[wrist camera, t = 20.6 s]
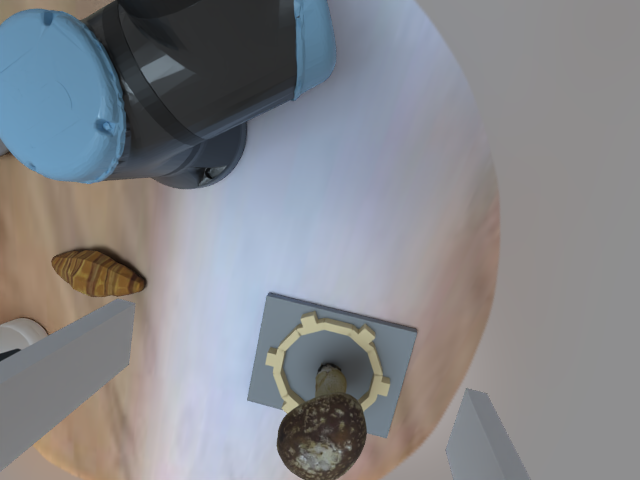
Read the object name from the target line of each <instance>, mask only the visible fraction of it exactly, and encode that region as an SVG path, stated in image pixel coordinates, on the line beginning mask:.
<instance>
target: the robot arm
mask: <svg viewBox="0 0 640 480" xmlns="http://www.w3.org/2000/svg"><path fill="white" fill-rule="evenodd" d="M335 63H336V44H335V37H334V31H333V26H332V21H331V16H330V12H329V7H328V3H327V0H115V1H113V2H112V3H110V4H108V5H107V6H105V7H103V8H102V9H100V10H98V11H96V12H95V13H93V14H91V15H90V16H88V17H86V18H85V19H82V20H78V19H76V18H75V17H73V16H72V15H70V14H68V13H65V12H63V11H54V10H45V9H29V10H24V11H20V12H18V13H16V14H14V15H12V16H11V17H9V18H8V19H6V20H5V21H4V22H3V23H2V24H1V25H0V139H1V140H2V142H3V143H4V144H5V146H6V147H7V148H8V150H9V151H10V152H11V153H12V154H13V155H14V156H15V157H16V158H17V159H18V160H19V161H20V162H21V163H22V164H24V165H25V166H26V167H28V168H29V169H31V170H33V171H36V172H37V173H39V174H42V175H43V176H45V177H47V178H50V179H54V180H58V181H71V182H80V183H87V184H91V183H94V182H100V181H107V180H121V179H135V178H148V177H150V178H152V179H154V180H156V181H158V182H160V183H162V184H164V185H167V186H170V187H173V188H179V189H195V188H202V187H206V186H210V185H212V184H215V183H217V182H218V181H220V180H222V179H223V178H224V177H226V176H227V175H228V174H229V173H230V172H231V171H232V170H233V169H234V167H235V166H236V164H237V163H238V161H239V159H240V157H241V155H242V153H243V150H244V146H245V142H246V133H247V126H246V121H248V120H250V119H252V118H254V117H256V116H258V115H260V114H262V113H264V112H266V111H269V110H271V109H273V108H275V107H277V106H279V105H281V104H283V103H285V102H287V101H289V100H291V101H294V100H296V99H297V98H298V97H299V96H300V94H302V93H304V92H306V91H308V90H309V89H311V88H313V87H315V86H317V85H318V84H320V83H322V82H324V81H325V80H326V79H328V78H329V76H330V75H331V73H332V71H333V69H334V67H335ZM134 313H135V303H133V302H129V301H125V300H121V299H116V300H114V301H112V302H110V303H108V304H107V305H105V306H103V307H101V308H99V309H97V310H95V311H94V312H92V313H90V314H88V315H86V316H84V317H82V318H80V319H79V320H77V321H75V322H73V323H71V324H69V325H67V326H66V327H64V328H62V329H60V330H58V331H56V332H54V333H53V334H51V335H49V336H47V337H45V338H43V339H41V340H39V341H38V342H36V343H34V344H32V345H30V346H28V347H26V348H25V349H23V350H21V349H18V348H17V349H14V350H10V351H7V352H4V353H0V472H1V471H2V470H3V469H4V468H6V467H7V466H8V465H9V464H10V463H12V461H14V460H15V459H16V458H18V457H19V456H20V455H21V454H22V453H23V452H25V451H26V450H27V449H28V448H29V447H31V446H32V445H33V444H34V443H35V442H37V441H38V440H39V439H40V438H41V437H43V436H44V435H45V434H46V433H47V432H49V431H50V430H51V429H52V428H53V427H55V426H56V425H57V424H58V423H59V422H61V421H62V420H63V419H64V418H65V417H67V416H68V415H69V414H70V413H71V412H73V411H74V410H75V409H76V408H77V407H79V406H80V405H81V404H82V403H83V402H85V401H86V400H87V399H88V398H89V397H90V396H92V395H93V394H94V393H95V392H96V391H98V390H99V389H100V388H101V387H102V386H104V385H105V384H106V383H107V382H108V381H110V380H111V379H112V378H113V377H114V376H116V375H117V374H118V373H119V372H120V371H122V370H123V369H124V368H125V367H126V366H128V365H129V359H130V350H131V341H132V331H133V322H134ZM446 454H447V457H448V461H449V465H450V469H451V472H452V476H453V480H531V479H530V477H529V475H528V473H527V471H526V469H525V467H524V465H523V463H522V461H521V459H520V457H519V455H518V453H517V451H516V449H515V447H514V445H513V444H512V441H511V440H510V438H509V436H508V434H507V432H506V430H505V428H504V426H503V424H502V422H501V420H500V418H499V416H498V414H497V412H496V410H495V408H494V406H493V404H492V403H491V400H490V398H489V396H488V395H487V393H483V392H479V391H476V390H472V389H468V388H466V390H465V393H464V396H463V399H462V402H461V405H460V408H459V411H458V414H457V418H456V420H455V423H454V426H453V429H452V432H451V435H450V438H449V441H448V444H447V448H446Z"/></svg>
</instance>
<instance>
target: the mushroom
mask: <svg viewBox="0 0 640 480" xmlns="http://www.w3.org/2000/svg"><path fill="white" fill-rule="evenodd" d="M315 379H316V385H315V388H316V392H315V398H313V399H310V400H308V401H306V402H304V403H302V404H300V405H299V406H297V407H295V408H294V409H293V410H291V411H290V412H289V413H288V414H287V415H286V416H285V417H284V418H283V420H282V422H281V424H280V427H279V430H278V438H277V450H278V453H279V455H280V457H281V459H282V461H283V463H284V464H285V466H286V467H287V468H288V469H289V470H290V471H291V472H292V473H294V474H295V475H297V476H298V477H300V478H302V479H304V480H335V479H338V478H339V477H341V476H342V475H343V474H345V473H346V472H347V471H348V470H349V469H350V468H351V467H352V466H353V465H354V463H355V462H356V460H357V459H358V457H359V456H360V454H361V452H362V450H363V447H364V445H365V441H366V434H367V426H366V421H365V417H364V413H363V409H362V406H361V405H360V403H359V402H358V400H357V399H356V398H354V397H353V396H351V395H349V394H346V388H347V381H346V378H345V376H344V374H343V373H342V372H341V368H339V367H338V366H336V365H335V364H331V363H327V364H325V365H323V364H322V363H321V366H320V367H319V369H318V372H317V376H316V378H315Z"/></svg>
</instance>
